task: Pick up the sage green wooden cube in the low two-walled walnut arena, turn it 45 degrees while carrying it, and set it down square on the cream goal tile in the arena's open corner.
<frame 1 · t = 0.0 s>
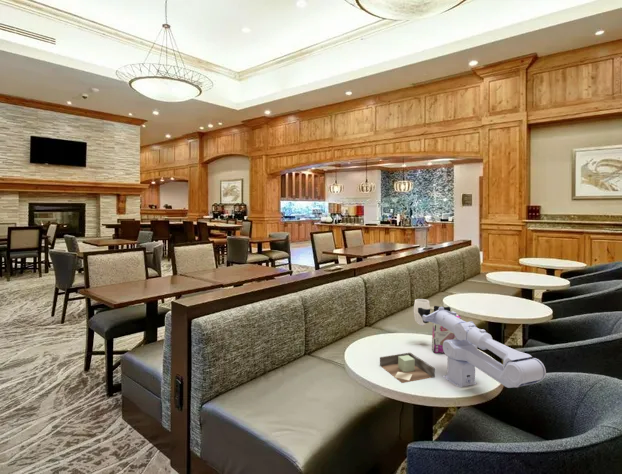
hand: (426, 309, 156), 22 cm above the table, tool horizontal, fingers open, 7 cm apart
candy bar box: (445, 352, 167), on the table
cup: (421, 345, 175), on the table
arena: (406, 372, 146), on the table
sage cube: (406, 369, 148), point 1 cm above the table, touching arena
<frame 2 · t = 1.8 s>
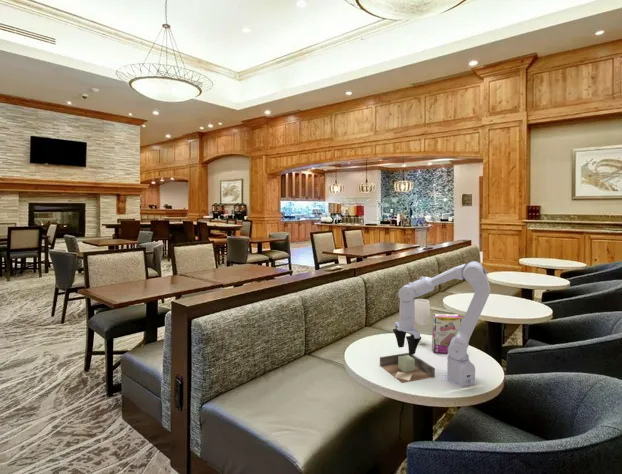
hand: (406, 350, 147), 8 cm above the table, tool pointing down, fingers open, 7 cm apart
nothing on the table moved.
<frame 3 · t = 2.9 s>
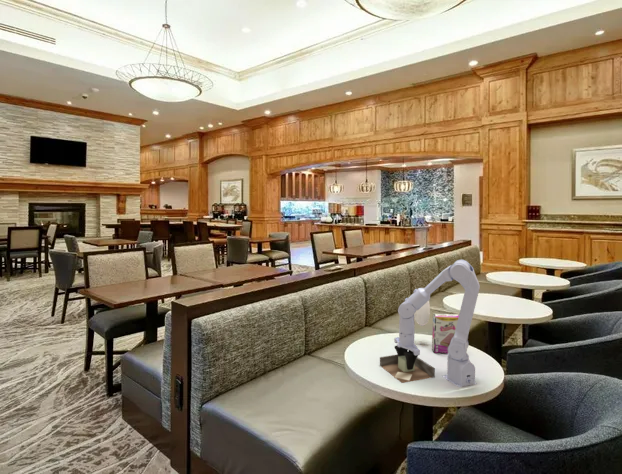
hand: (406, 366, 148), 2 cm above the table, tool pointing down, fingers closed on sage cube, 4 cm apart
sage cube: (406, 369, 148), point 1 cm above the table, touching arena, gripper
everything else where it was.
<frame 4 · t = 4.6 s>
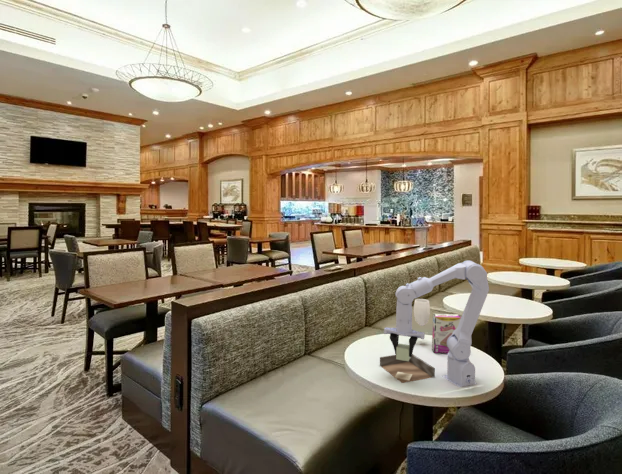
hand: (403, 354, 141), 9 cm above the table, tool pointing down, fingers closed on sage cube, 4 cm apart
sage cube: (403, 358, 141), point 8 cm above the table, touching gripper
everything else where it was.
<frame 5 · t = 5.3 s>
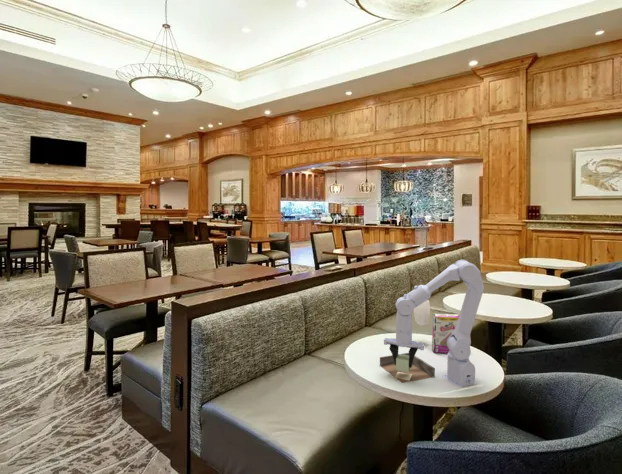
hand: (403, 365, 141), 5 cm above the table, tool pointing down, fingers closed on sage cube, 4 cm apart
sage cube: (403, 368, 142), point 3 cm above the table, touching gripper
everything else where it was.
when the fingers open (3 cm above the table, at t = 6.1 s): sage cube stays where it is, resting on arena.
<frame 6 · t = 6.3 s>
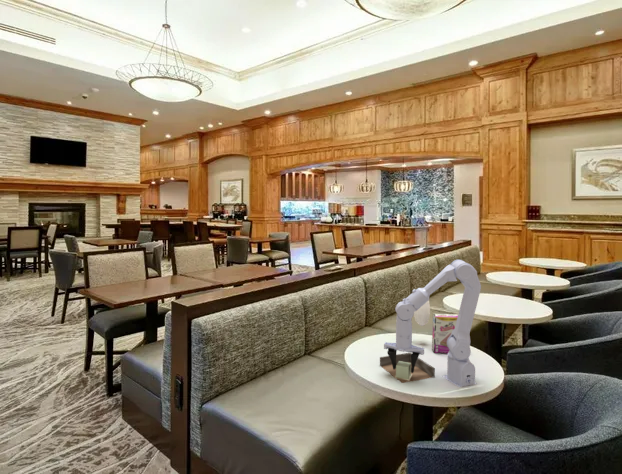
hand: (403, 370, 142), 3 cm above the table, tool pointing down, fingers open, 6 cm apart
sage cube: (403, 375, 142), point 1 cm above the table, touching arena
everything else where it was.
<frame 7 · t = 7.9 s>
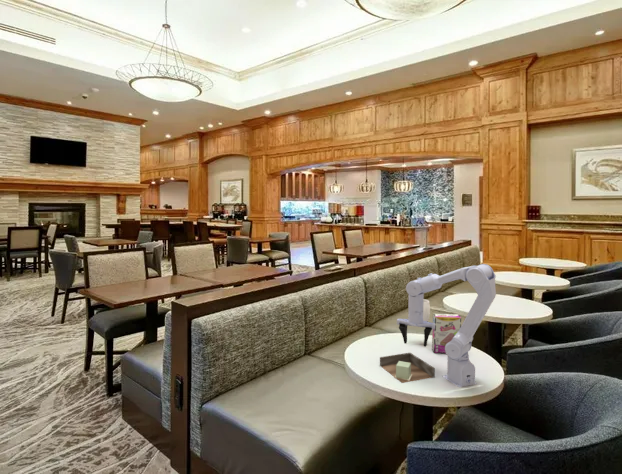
hand: (415, 344, 150), 9 cm above the table, tool pointing down, fingers open, 7 cm apart
nothing on the table moved.
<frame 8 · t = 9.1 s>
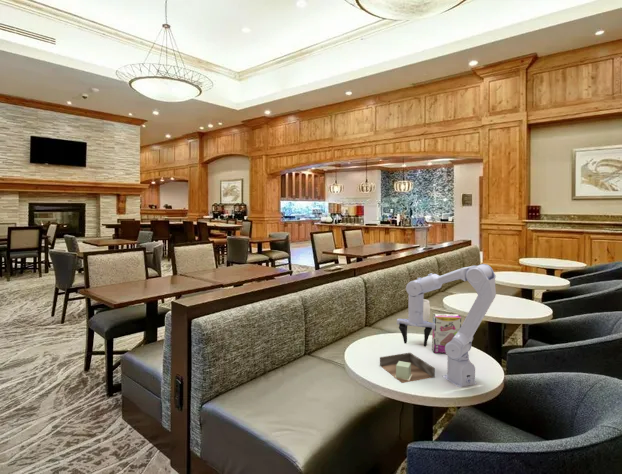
hand: (415, 344, 150), 9 cm above the table, tool pointing down, fingers open, 7 cm apart
nothing on the table moved.
at the end: sage cube 0.0 cm from the target spot on the arena, point 0.7 cm above the arena's base; sage cube tilted 0°; the gripper is holding nothing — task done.
